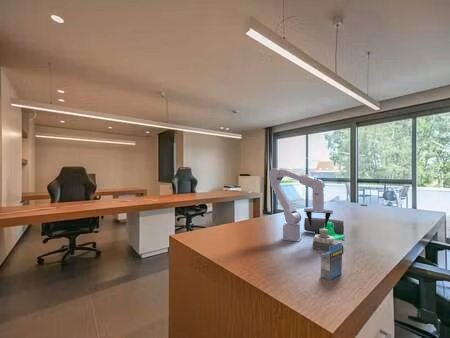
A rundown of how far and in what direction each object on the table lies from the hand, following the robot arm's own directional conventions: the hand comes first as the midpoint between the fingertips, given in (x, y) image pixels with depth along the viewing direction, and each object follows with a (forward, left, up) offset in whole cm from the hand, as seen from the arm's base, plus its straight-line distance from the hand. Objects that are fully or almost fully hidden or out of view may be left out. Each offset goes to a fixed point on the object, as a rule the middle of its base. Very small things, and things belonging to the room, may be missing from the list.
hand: (318, 226), depth 123 cm
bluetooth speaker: (+1, +23, -10) cm, 26 cm away
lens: (+3, -5, -6) cm, 8 cm away
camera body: (+5, -4, -10) cm, 12 cm away
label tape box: (+8, -38, -10) cm, 40 cm away
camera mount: (+7, +12, -10) cm, 18 cm away
